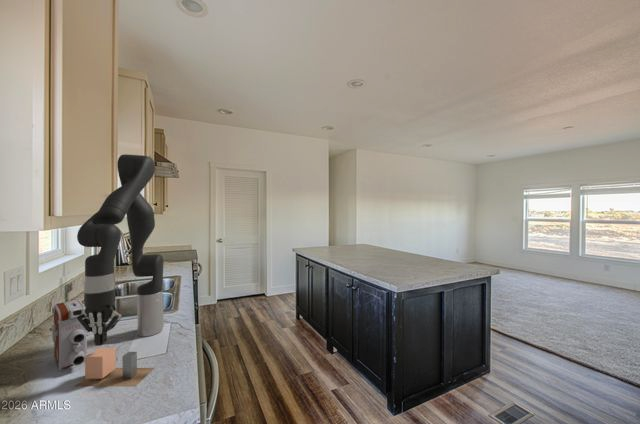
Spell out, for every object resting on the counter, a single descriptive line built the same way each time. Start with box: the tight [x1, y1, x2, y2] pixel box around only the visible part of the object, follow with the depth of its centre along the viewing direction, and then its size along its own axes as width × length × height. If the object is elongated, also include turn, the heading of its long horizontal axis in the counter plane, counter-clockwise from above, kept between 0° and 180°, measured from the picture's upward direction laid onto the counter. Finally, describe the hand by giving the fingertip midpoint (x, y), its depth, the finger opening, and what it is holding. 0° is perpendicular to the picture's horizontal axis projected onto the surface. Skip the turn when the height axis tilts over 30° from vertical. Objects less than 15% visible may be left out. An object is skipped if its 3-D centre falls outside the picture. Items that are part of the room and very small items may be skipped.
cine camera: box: [51, 299, 91, 371], centre depth 92 cm, size 9×19×20 cm, turn 49°
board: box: [75, 367, 155, 387], centre depth 84 cm, size 9×18×1 cm, turn 90°
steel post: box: [121, 351, 138, 379], centre depth 84 cm, size 3×3×7 cm
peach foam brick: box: [84, 347, 117, 379], centre depth 84 cm, size 5×5×7 cm
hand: (100, 344), depth 84 cm, fingers closed
